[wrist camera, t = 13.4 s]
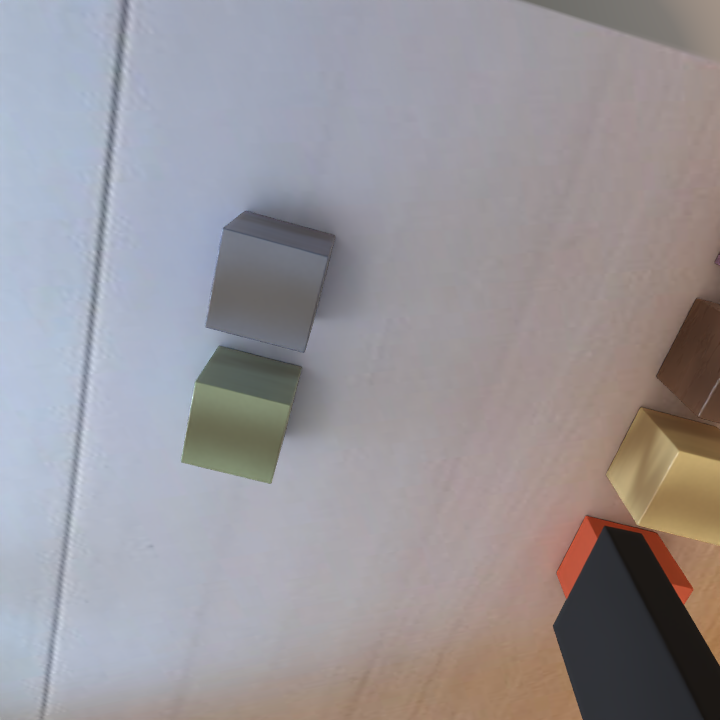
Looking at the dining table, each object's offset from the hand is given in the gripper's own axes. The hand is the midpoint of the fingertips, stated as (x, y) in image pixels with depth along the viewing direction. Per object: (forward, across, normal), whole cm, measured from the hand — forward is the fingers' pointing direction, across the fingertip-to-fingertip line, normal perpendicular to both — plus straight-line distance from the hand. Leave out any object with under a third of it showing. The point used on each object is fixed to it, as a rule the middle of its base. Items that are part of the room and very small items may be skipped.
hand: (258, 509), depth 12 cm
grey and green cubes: (+23, -3, -6) cm, 24 cm away
